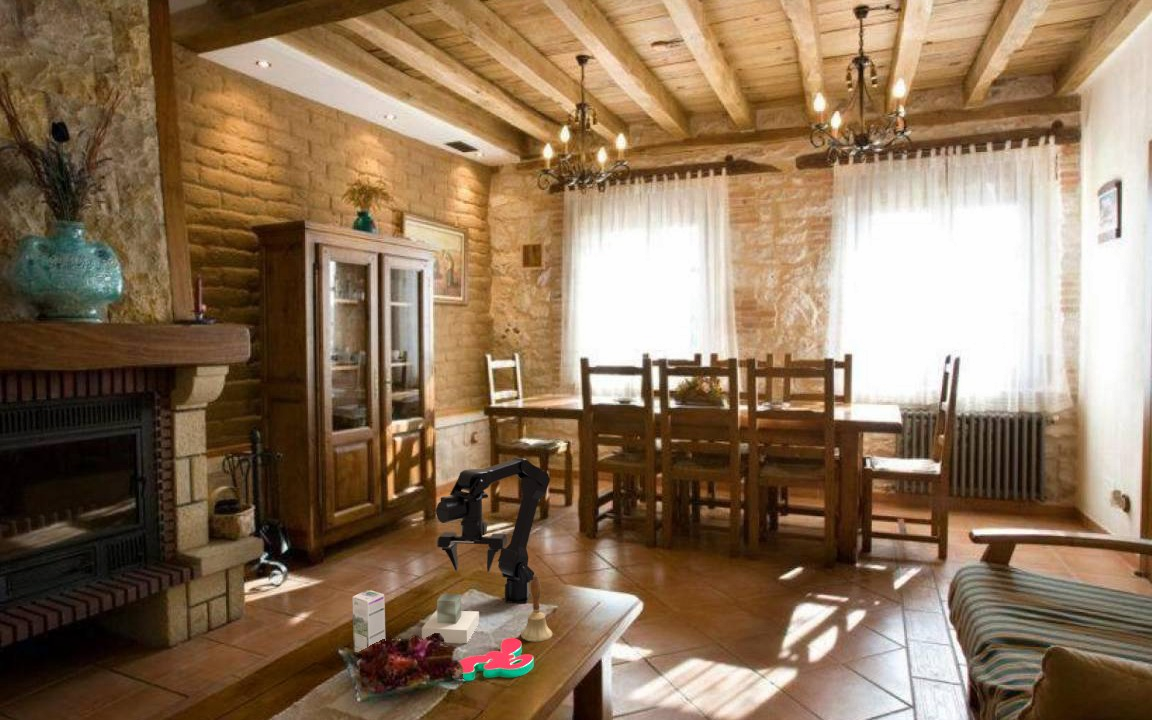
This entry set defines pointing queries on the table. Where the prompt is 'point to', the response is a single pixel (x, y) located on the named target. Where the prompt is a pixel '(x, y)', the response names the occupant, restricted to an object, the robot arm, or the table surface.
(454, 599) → the green block
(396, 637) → the table surface
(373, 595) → the syrup box
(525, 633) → the hand bell
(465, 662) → the squiggly shape
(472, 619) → the cream block
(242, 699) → the table surface
